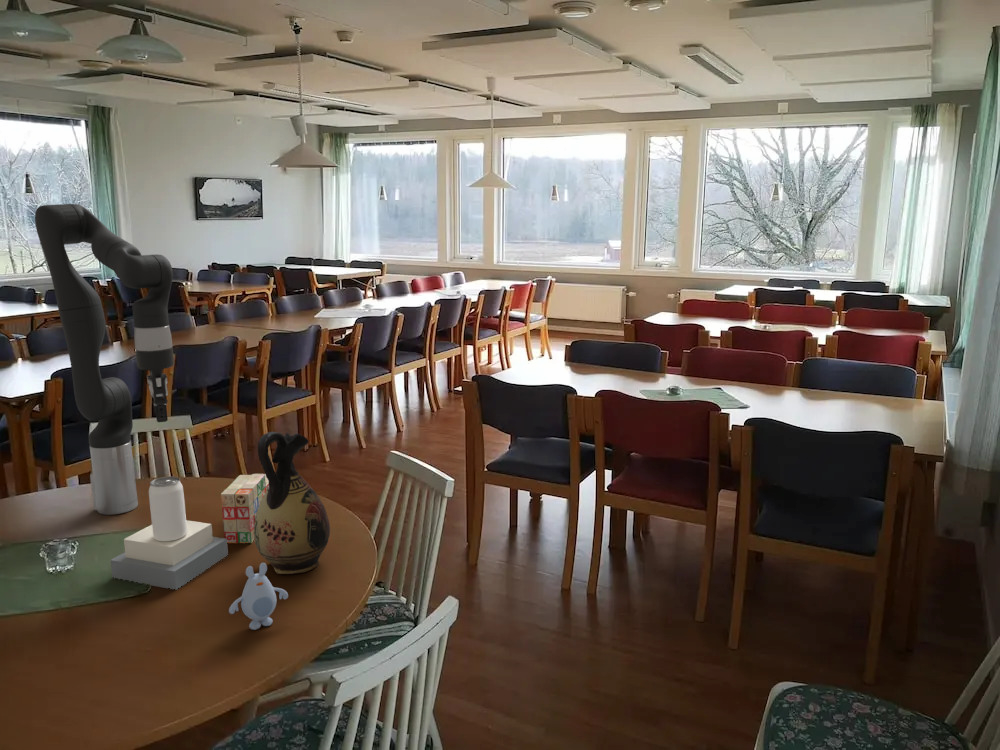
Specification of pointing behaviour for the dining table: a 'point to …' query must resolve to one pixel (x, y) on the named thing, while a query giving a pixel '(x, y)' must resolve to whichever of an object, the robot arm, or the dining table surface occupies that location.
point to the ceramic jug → (289, 510)
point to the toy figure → (258, 598)
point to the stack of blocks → (242, 506)
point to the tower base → (169, 571)
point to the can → (167, 509)
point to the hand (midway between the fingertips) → (161, 417)
